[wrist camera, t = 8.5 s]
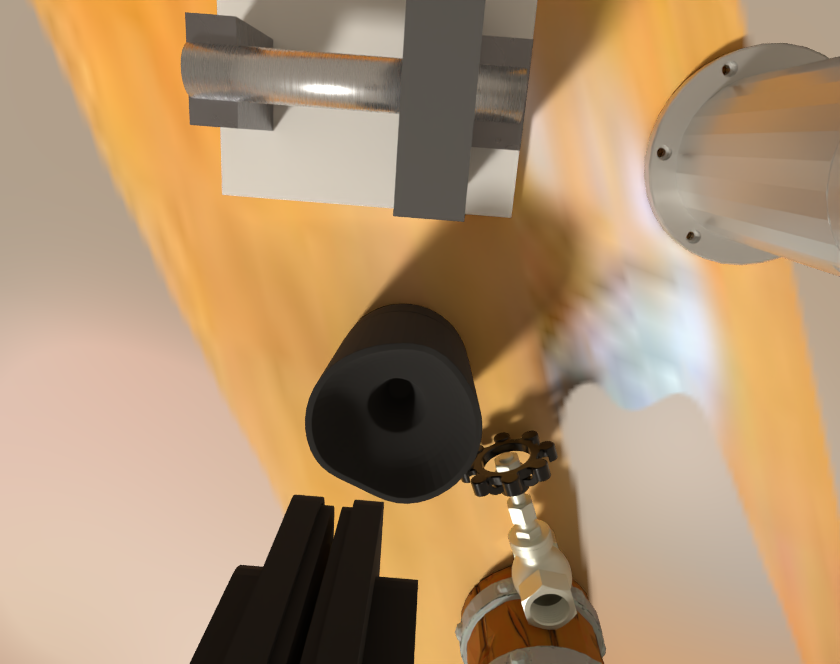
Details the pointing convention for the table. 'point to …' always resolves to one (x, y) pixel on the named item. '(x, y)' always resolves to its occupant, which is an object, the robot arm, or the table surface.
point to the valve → (528, 527)
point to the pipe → (332, 80)
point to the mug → (524, 628)
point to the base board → (350, 112)
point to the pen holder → (397, 407)
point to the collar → (437, 107)
